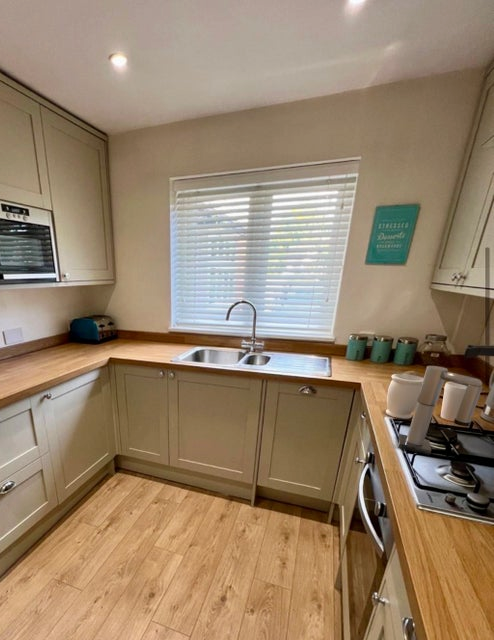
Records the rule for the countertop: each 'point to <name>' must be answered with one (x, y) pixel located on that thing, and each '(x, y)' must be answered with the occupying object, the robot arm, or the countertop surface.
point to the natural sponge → (412, 373)
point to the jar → (403, 395)
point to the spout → (434, 386)
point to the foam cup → (452, 400)
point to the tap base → (414, 447)
